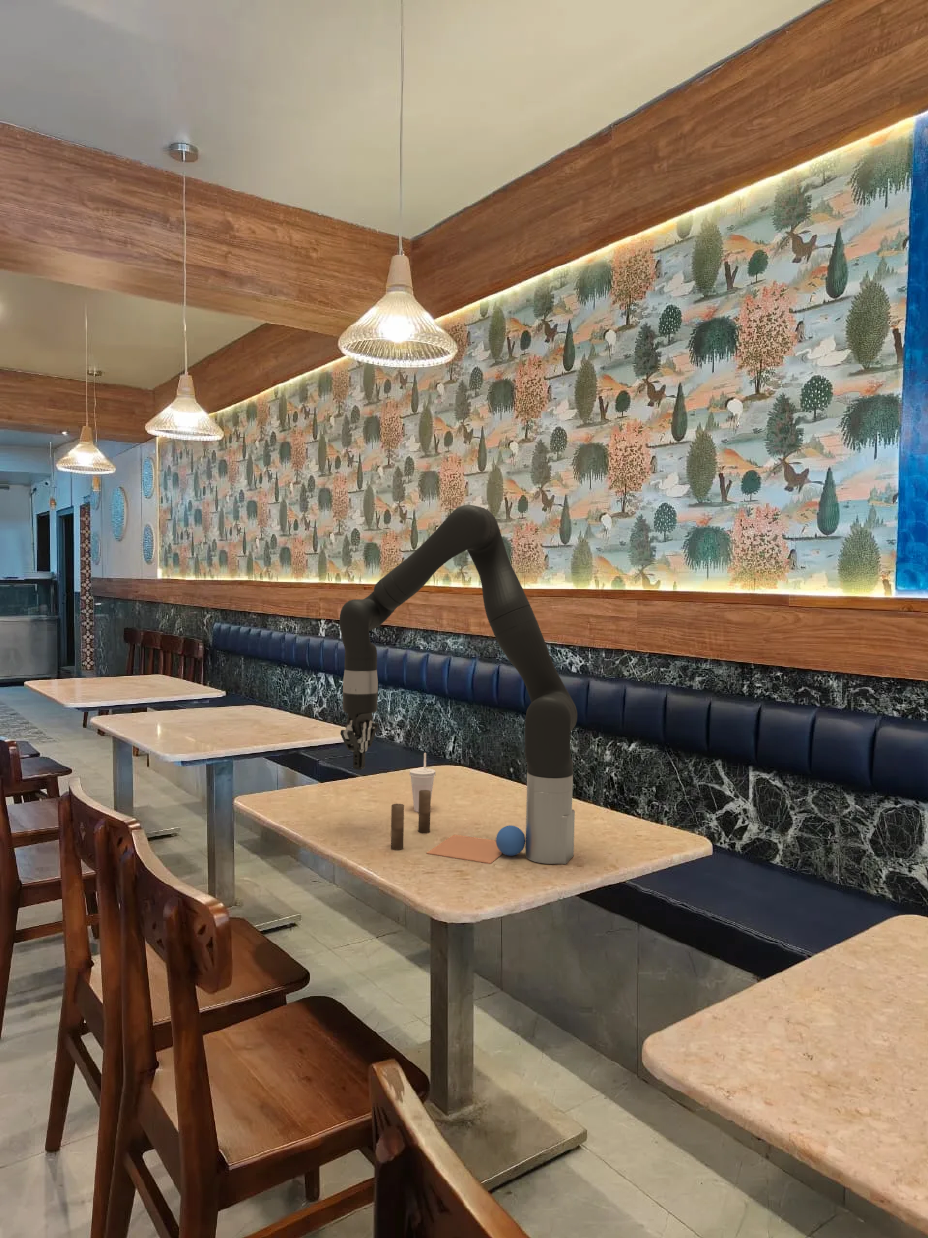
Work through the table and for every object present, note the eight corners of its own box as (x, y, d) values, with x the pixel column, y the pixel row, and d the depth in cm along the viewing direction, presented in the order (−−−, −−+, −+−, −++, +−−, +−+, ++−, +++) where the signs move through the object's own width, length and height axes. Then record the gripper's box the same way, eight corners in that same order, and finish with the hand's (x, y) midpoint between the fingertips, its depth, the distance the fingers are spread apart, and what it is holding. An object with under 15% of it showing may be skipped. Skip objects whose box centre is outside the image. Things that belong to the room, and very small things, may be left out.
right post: (431, 830, 189) (432, 790, 189) (426, 834, 187) (427, 793, 187) (421, 829, 190) (422, 789, 190) (416, 832, 188) (417, 792, 188)
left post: (405, 847, 177) (406, 804, 177) (399, 851, 175) (400, 807, 174) (394, 845, 178) (395, 803, 178) (388, 849, 176) (389, 806, 176)
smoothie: (431, 814, 202) (432, 756, 202) (405, 812, 204) (406, 754, 203) (437, 807, 208) (438, 751, 208) (412, 806, 210) (413, 749, 209)
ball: (528, 853, 175) (530, 825, 175) (518, 862, 170) (520, 832, 170) (500, 847, 178) (503, 819, 177) (490, 856, 172) (492, 827, 172)
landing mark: (514, 844, 181) (514, 843, 181) (490, 864, 168) (490, 863, 168) (453, 835, 186) (453, 834, 186) (426, 853, 174) (426, 852, 173)
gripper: (360, 695, 179) (358, 776, 179) (389, 688, 191) (388, 764, 192) (329, 692, 182) (328, 773, 182) (360, 686, 194) (359, 761, 195)
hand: (359, 768), depth 187 cm, fingers closed
